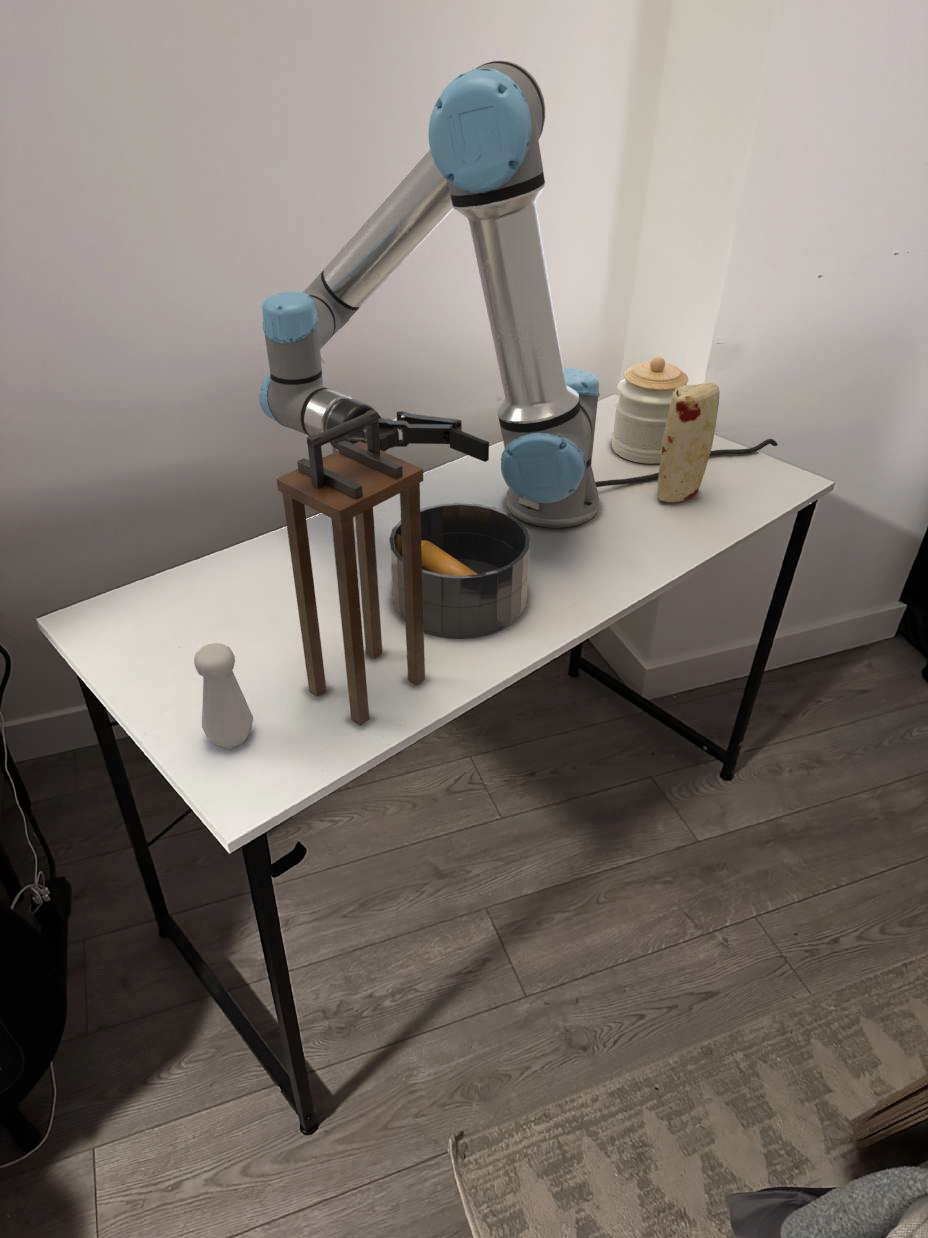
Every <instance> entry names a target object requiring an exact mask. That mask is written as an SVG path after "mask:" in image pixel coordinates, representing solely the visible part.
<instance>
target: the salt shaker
mask: <svg viewBox="0 0 928 1238" xmlns="http://www.w3.org/2000/svg"><path fill="white" fill-rule="evenodd" d="M193 663H194V664H193V665H194V668H195V670H196V672H197V674H198V676H200V677H202V678H203V679H202V704H201V705H202V711H201V728H202V730H203V733H204V735H205V737H206V738H207V739H208V740H209V741H210V742H211V743H213V745H215V746H217V747H221V748H223V749H227V750H230V749H232V748H235V747H238V746H241V745H244V744H245V742H246V740H247V737H248V735H249V733H250V731H251V730H252V727H253V722H254V715H253V713H252V712H251V711H252V710H251V709H250V707H249V704H248V702H247V699H246V697H245V695H244V693H243V691H242V689H241V687H240V684H239V682H238V679H237V677H236V675H235V673H234V669H235V664H236V656H235V654H234V652H233V650H232V649H231V647H230V646H228V645H226V644H224V643H217V642H213V643H209V644H206V645H204V646H202V647H201V648H199V650H198V651H197V652H196V653H195V655H194V659H193Z"/></svg>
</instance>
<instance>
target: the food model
mask: <svg viewBox="0 0 928 1238" xmlns="http://www.w3.org/2000/svg"><path fill="white" fill-rule="evenodd" d="M719 405H720V387H719V385H717V384H716V383H714V382H703V383H698V384H685V385H680V386H678V387H677V388H676V389H675V390H674V392H673V395H672V400H671V404H670V409H669V414H668V419H667V423H666V427H665V431H664V435H663V440H662V448H661V458H660V463H659V468H658V472H659V477H658V478H657V498H658V500H659V501H662V502H666V503H678V502H684V501H687V500H690V499H692V498H694V497H696V496H697V494H698V493H699V489H700V487H701V484H702V482H703V479H704V475H705V472H706V469H707V466H708V462H709V461H710V460H709V459H710V457H711V456H710V453H711V451H712V449H713V443H714V438H715V432H716V428H717V421H718V420H717V419H718V414H719V413H718V412H719Z"/></svg>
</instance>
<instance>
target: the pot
mask: <svg viewBox="0 0 928 1238" xmlns="http://www.w3.org/2000/svg"><path fill="white" fill-rule="evenodd" d="M420 515H421V541H422V540H426V541H429V542H431V543H433V544H434V545H436V546H437V547H439V548H440V549H442V550H443V551H445V552H446V553H447V554H449V555H450V556H452V557H453V558H455V559H456V560H458V561H459V562H461V563H462V564H464V565H465V566H467V567H468V568H470V569H471V570H473V571H474V572H476V573H477V574H478V575H466V576H455V575H442V574H438V573H434V572H429V571H425V570H423V569H422V586H423V622H424V634H428V635H431V636H436V637H440V638H446V639H459V640H460V639H474V638H480V637H485V636H489V635H492V634H495V633H498V632H500V631H502V630H504V629H506V628H508V627H509V626H511V625H512V624H514V623H516V621H517V620H518V619H519V618H520V617H521V615H522V614H523V612H524V610H525V608H526V605H527V599H528V598H527V596H528V584H529V565H530V549H531V536H530V534H529V532H528V529H527V527H526V526H525V525H524V524H523V523H522V521H521V520H520V519H518V518H517V517H515V516H514V515H512V514H511V513H508V512H506V511H503V510H500V509H498V508H495V507H492V506H487V505H484V504H483V505H482V504H478V503H467V502H466V503H465V502H455V503H454V502H452V503H441V504H437V505H431V506H426V507H424V508H420ZM388 541H389V557H390V576H391V578H390V579H391V595H392V603H393V607H394V610H395V611H396V613H397V615H398V616H399V617H400V618H401V620H403V621H404V622H405V600H404V577H403V554H402V531H401V519H400V520H399V521H398V522H397V523H396V524H395V526H394V527H393V528H392V529H391V533H390V536H389V539H388Z"/></svg>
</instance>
